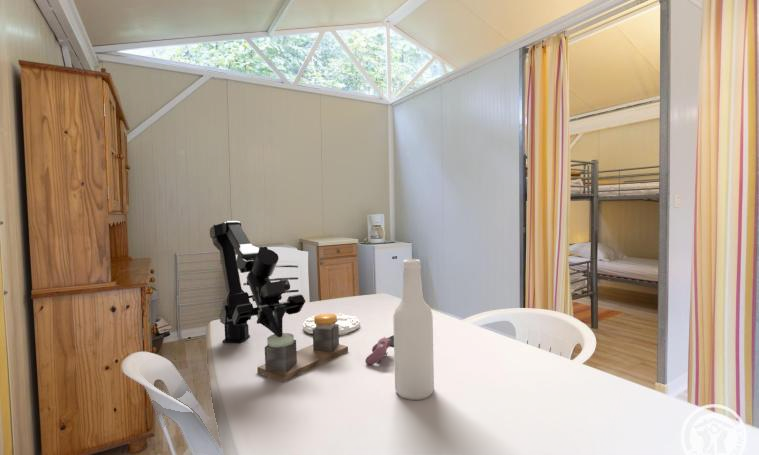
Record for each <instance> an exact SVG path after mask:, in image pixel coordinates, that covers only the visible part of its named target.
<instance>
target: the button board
mask: <svg viewBox="0 0 759 455" xmlns="http://www.w3.org/2000/svg"><path fill="white" fill-rule="evenodd" d="M339 338H340V335H339V326H338V324H335V327H334V328H333V329H332V330H321V329H316V327H315V328H314V329H313V334H312V344H311V345H308V346H305V347H303V348H300V349H298V350H297V339H294V343H293V344H291V345H289V346H287V347H269V346H268V345H265V347H264V362H265V363H264V364H262V365H258V366H257V373H258V374H260V375H263V376H265V377H267V378H270V379H274V380H275V381H278V382H280V383H285V382H286V381H288V380H290V379H293V378H296V377H297V376H299V375H302V374H303V373H305V372H308V371H310V370H312V369H314V368H315V367H316V368H317V367H318V366H320V365H322V364H324V363H327V362H329V361H330V360H333V359H335V358H337V357H339V356H342V355H344V354H346V353H348V352H349V346H347V345H344V344H340V339H339Z"/></svg>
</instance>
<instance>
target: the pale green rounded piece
mask: <svg viewBox="0 0 759 455" xmlns="http://www.w3.org/2000/svg"><path fill="white" fill-rule="evenodd" d="M294 340H295V337H294V334H293V333H289V332H283V335H282V337H277V336H276V335H275V334H274V333H273V334H271V335H269V336H267V338H266V342H267V345H268V346H269V347H287V346H289V345H291V344H293V343H294ZM267 345H266V346H267Z"/></svg>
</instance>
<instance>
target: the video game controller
mask: <svg viewBox="0 0 759 455" xmlns="http://www.w3.org/2000/svg"><path fill="white" fill-rule="evenodd" d="M390 341H391V340H390V339H389V337H385V336H383V337H382V338H379V339H378V341H377V342H376V344H374V345H373V346H372V348H371V351H372V353H370V354H369V355H368V356H367V357H366V358H365V364H366V365H368V366H371V365H373V366H374V365H375V364H377V363H378V362H379V363H381V361H382V359H383V357H387V356H388V354H389V353H388V352H387V350H388V348H389V347H390V346H389V345H390Z"/></svg>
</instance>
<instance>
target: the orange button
mask: <svg viewBox="0 0 759 455" xmlns="http://www.w3.org/2000/svg"><path fill="white" fill-rule="evenodd" d="M337 315H338V314H335V313H334V314H333V313H321V314H317V315H314V316H315V317H314V323H315V324H316V329H321V330H332V329H333V328H334V327H335V323H336V322H337Z"/></svg>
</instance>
